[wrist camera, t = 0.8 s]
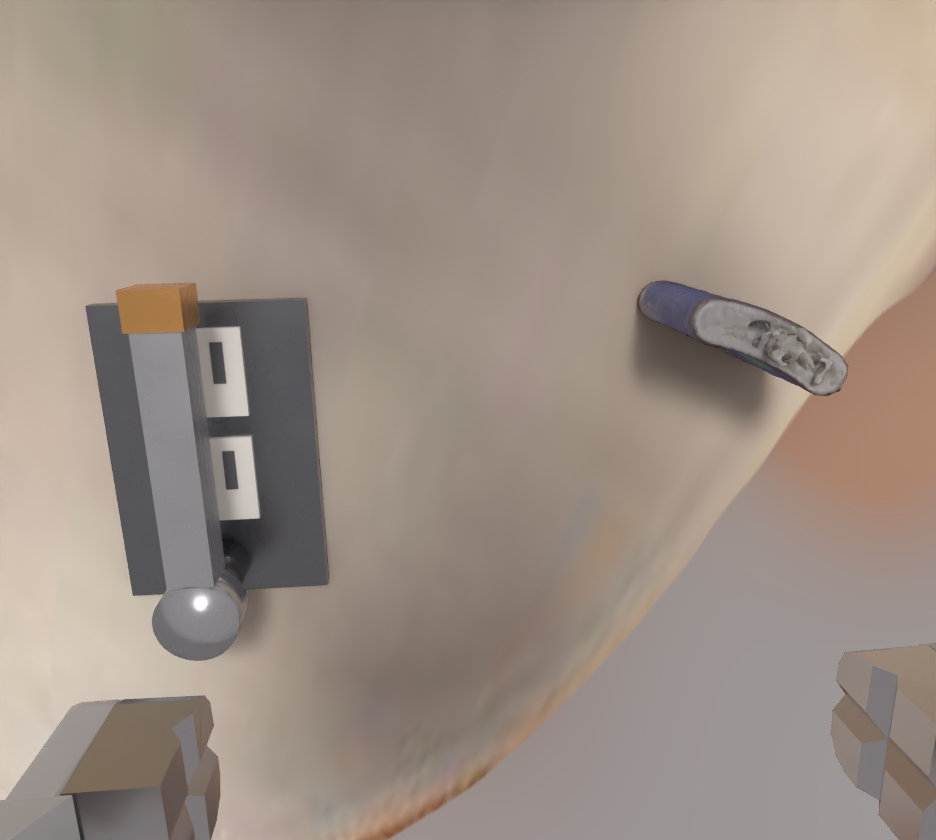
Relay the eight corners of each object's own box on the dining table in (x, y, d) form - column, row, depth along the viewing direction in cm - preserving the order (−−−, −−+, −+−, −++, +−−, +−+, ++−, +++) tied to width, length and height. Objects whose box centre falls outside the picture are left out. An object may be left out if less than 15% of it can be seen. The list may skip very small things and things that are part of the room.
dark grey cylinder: (201, 541, 45) (180, 577, 40) (248, 539, 45) (231, 574, 41) (207, 582, 45) (186, 621, 41) (252, 580, 46) (236, 618, 41)
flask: (629, 310, 44) (698, 340, 34) (651, 265, 43) (729, 281, 33) (756, 369, 46) (858, 414, 35) (779, 326, 45) (890, 360, 35)
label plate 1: (157, 329, 41) (155, 330, 41) (240, 326, 41) (238, 327, 41) (169, 417, 42) (167, 419, 42) (249, 414, 43) (248, 416, 42)
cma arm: (120, 284, 36) (97, 290, 33) (212, 282, 36) (196, 288, 33) (173, 635, 41) (156, 665, 38) (252, 631, 41) (241, 660, 39)
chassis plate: (92, 303, 41) (85, 306, 40) (306, 297, 42) (304, 299, 41) (138, 587, 46) (132, 595, 45) (328, 576, 47) (327, 584, 46)
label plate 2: (172, 438, 43) (170, 440, 42) (252, 435, 43) (250, 437, 43) (183, 520, 44) (181, 522, 44) (260, 516, 44) (259, 519, 44)
